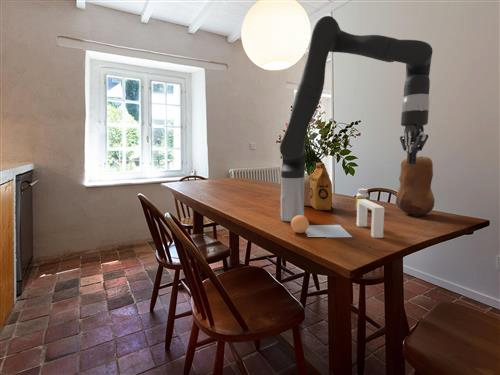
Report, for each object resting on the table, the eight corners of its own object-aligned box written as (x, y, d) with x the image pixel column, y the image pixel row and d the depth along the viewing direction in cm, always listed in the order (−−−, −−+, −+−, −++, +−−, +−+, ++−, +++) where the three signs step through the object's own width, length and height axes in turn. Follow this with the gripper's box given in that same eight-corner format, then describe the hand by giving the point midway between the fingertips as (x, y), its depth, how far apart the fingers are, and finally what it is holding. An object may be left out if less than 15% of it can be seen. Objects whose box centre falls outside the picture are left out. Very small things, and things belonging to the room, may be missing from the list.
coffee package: (312, 210, 127) (313, 163, 124) (306, 205, 140) (307, 162, 137) (334, 210, 127) (335, 162, 124) (326, 205, 140) (327, 161, 137)
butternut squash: (430, 212, 120) (434, 154, 116) (436, 219, 108) (440, 155, 104) (394, 210, 125) (397, 155, 122) (396, 216, 113) (399, 155, 110)
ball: (296, 238, 91) (289, 222, 90) (294, 232, 97) (287, 217, 96) (313, 230, 91) (305, 214, 90) (309, 225, 96) (302, 210, 96)
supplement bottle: (367, 211, 123) (368, 190, 122) (354, 210, 126) (355, 189, 125) (369, 209, 128) (370, 188, 127) (356, 208, 131) (357, 188, 129)
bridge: (373, 237, 87) (374, 207, 86) (356, 225, 102) (357, 199, 101) (383, 237, 87) (384, 207, 86) (364, 224, 102) (365, 199, 101)
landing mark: (308, 237, 88) (308, 237, 88) (301, 225, 102) (301, 225, 102) (352, 237, 88) (352, 236, 88) (339, 225, 102) (339, 225, 102)
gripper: (393, 113, 95) (390, 163, 98) (414, 107, 82) (410, 165, 85) (415, 113, 95) (411, 163, 98) (440, 107, 82) (435, 165, 84)
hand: (411, 164), depth 91 cm, fingers closed
